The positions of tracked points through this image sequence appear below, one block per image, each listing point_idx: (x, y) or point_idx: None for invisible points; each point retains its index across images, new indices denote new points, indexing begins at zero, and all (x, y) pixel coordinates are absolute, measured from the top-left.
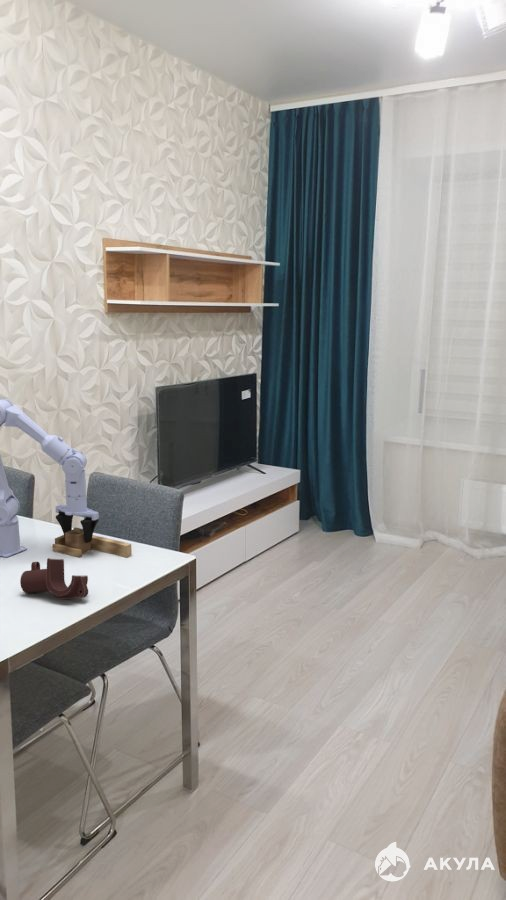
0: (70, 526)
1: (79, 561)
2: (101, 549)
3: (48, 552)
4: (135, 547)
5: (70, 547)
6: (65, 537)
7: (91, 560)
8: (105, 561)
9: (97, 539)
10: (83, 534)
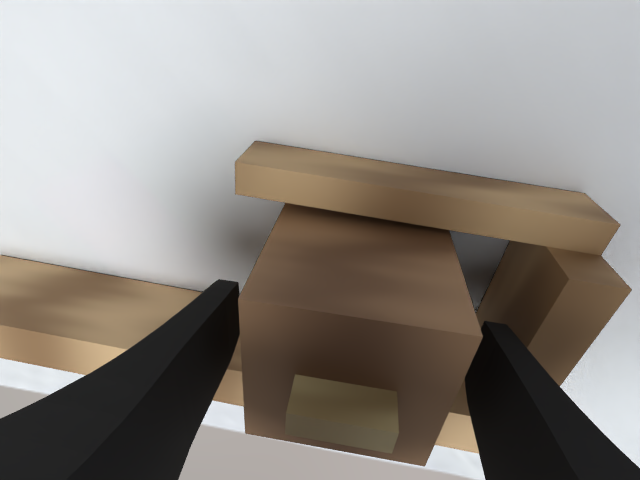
0: (494, 475)
1: (193, 61)
2: None
3: (616, 146)
4: None
5: (376, 212)
6: (464, 291)
7: (130, 126)
8: (34, 150)
9: None
10: (244, 356)
